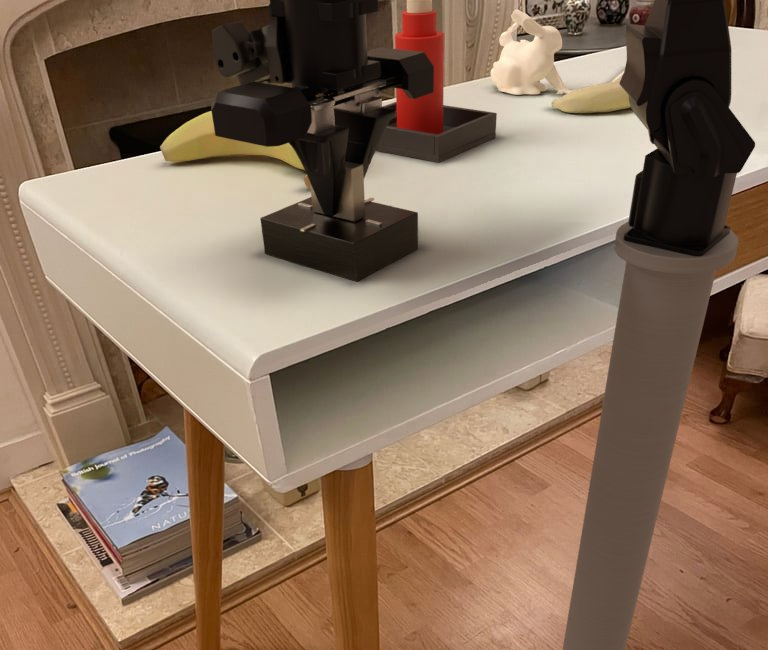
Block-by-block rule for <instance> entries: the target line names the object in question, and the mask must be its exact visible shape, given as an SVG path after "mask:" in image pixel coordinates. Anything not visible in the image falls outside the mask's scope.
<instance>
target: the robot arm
mask: <svg viewBox="0 0 768 650" xmlns="http://www.w3.org/2000/svg"><path fill="white" fill-rule="evenodd" d="M377 12H379V0H269V4H268V6H267V14H268V15H267V16H268V24H267V25H265V26H263V27H261V28H258V29H253V30H250V31H249V29H247V27H246V25H244V23H243V22H242V21H240V20H239V21H234V22H229V23H223V24H221V25H219V26H217V27H215V28H214V29H212V30H211V33H212V51H213V58H214V61H215V63H216V67H217V69H218V72H219V74H220V76H222V77H223V78H224V79H226V80H228V79H231V78H236V77H237V80H238V85H236V86H233V87H229V88H225V89H222V90H218V91H217V93H216V95H215V97H214V99H213V100H212V103H211V104H210V105H211V109H210V111H212V117H213V124H214V130H215V136H218V137H223V138H227V139H232V140H237V141H242V142H247V143H251V144H256V145H261V146H266V147H272V146H281V145H284V144H287V143H289V144H290V145H291V146H292V147H293V149H294V150H295V152H296V154H297V156H298V158H299V159H300V161H301V163H302V165H303V167H304V169H305V170H304V171H305V175H306V174H307V176H308V179H309V181H310V183H311V186H312V188H313V190H314V192H315V195H316V197H317V199H318V202H319V204H320V206H321V209H322V211H323V213H324V214H326V215H329V216H334V215H336V214H337V209H338V205H339V200H340V194H341V186H342V178H343V170H344V163H345V161H347V162H352V163H357V164H362V165H363V176H364V179H365V177H366V175H367V172H368V170H369V167H370V165H371V163H372V161H373V158H374V155H375V153H376V149H377V147H378V145H379V143H380V141H381V138H382V136H383V134H384V132H385V130H386V128H387V126H388V124H389V121H390V120H391V119H392V118H395V116H396V109H392V108H386V107H382V106H383V97H382V96H380V92H382V91H385V90H388V89H392V88H393V89H396V88H399V89H402V90H403V91H404V92H405V94H406V95H407V97H408V98H410V99H416V98H419V97H422V96H425V95H428V94H431V93H434V66H433V64H432V63H431V61H430V60H429V58H428V57H427V55H426V54H425V52H418V51H409V50H400V49H395V48H392V47H391V48H390V47H377V48H373V49H370V50H368V35H367V33H368V32H367V15H369V14H372V13H377ZM728 21H729V20H728V14H727V6H726V0H654V1H653V4H652V6H651V9H650V11H649V13H648V17H647V19H646V21H645V24H644V25H643V24H642V25H641V24H632V23H628V24H626V26H625V48H626V61H625V67H624V70H625V71H624V70H623V71H624V73H623V76H622V78H621V80H620V85H621V87H622V88H623V89H624V90H625V91H626V93H627V94H628V95H629V103H630V106H631V107H630V109H631V110H632V113H633V114H634V115H635V116H636V117H637V119H638V120H639V121H640V122H641V123H642V125H643V126H644V127H645V129H646V130H647V132H648V138H649V142H650V143H651V144H652V145H654V146H655V147H656V149H654V150H652V151H650V152H649V153H647V154H645V156H644V160H643V161H644V162H643V168H642V170H641V171H640V172H638V173H637V174H636V175H635V178H634V184H633V189H632V190H633V191H632V197H631V203H630V208H629V216H628V221H627V222H628V224H629V226H630V227H633V228H632V229H630V230H629V231H627V232H626V233H625V234H624V238H623V240H624V241H627V242H632V243H636V244H641V245H646V246H650V247H655V248H659V249H664V250H668V251H673V252H677V253H682V254H686V255H691V256H696V257H700V256H703V255H704V254H705V253H707V252H708V251H709V250H710V249H711V248H713V247H714V246H715V245H716V244H717V243H718V242H720V241H721V240H722V239H723V238H724V237H726V236H727V235H728V234H729V233H730V230H731V228H732V227H731V226H730V225H727V224H726V221H727V217H728V213H729V208H730V205H731V199H732V196H733V192H734V188H735V185H736V183H735V182H736V179H737V174H739V173H741V171H742V169H743V168H744V166H745V164H746V163H747V161H748V160H749V158H750V156H751V155H752V153H753V151H754V150H755V147H756V141H755V140H754V138H753V137H752V136H751V135H750V133H749V132H748V131H747V130H746V128H745V127H744V126H743V124H742V123H741V122H740V120H739V119H738V118H737V116H736V115H735V114H734V113H733V111H732V109H730V106H731V102H732V43H731V36H730V28H729V22H728ZM278 84H279V85H278ZM282 84H291V87H290V86H285V85H282Z"/></svg>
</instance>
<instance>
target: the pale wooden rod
mask: <svg viewBox="0 0 768 650" xmlns="http://www.w3.org/2000/svg"><path fill="white" fill-rule="evenodd" d="M624 71H625V69H624V70H622V72H621V73H619V74H618V75H617V76H615V78H614V79H612V80H611V81H610V82H615V81H620V80H621V78H622V76H623V73H624Z"/></svg>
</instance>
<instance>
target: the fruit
mask: <svg viewBox="0 0 768 650" xmlns="http://www.w3.org/2000/svg"><path fill="white" fill-rule="evenodd" d="M550 106H551V107H552V108H555V109H558V110H560V111H561V112H564V113H571V114H596V113H611V112H614V111H620V110H625V109H631V106H630V103H629V95H628V94H627V93H626V91H625V90H624V89H623V88H622V87H621V85H620V81H615V82H611V81H609V82H605V83H599V84H595V85H594V84H593V85H590V86H585V87H581V88H578V89H575V90H573V91H572V92H570V93H568V94H565V95H563V96H562V97H560V98H554V99H553V100H552V101H551V105H550Z"/></svg>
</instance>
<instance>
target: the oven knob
mask: <svg viewBox="0 0 768 650" xmlns="http://www.w3.org/2000/svg"><path fill="white" fill-rule="evenodd" d="M364 180H365V178H364V176H363V165H362V164H357V163H352V162H347V161H345V163H344V170H343V178H342V186H341V194H340V200H339V205H338V209H337V214H336V215H334V216H333V217H337V218H341V219H345V220H349V221H353V222H355V221H358V220H360V219H362V218H364V217H365V200H366V199H365V181H364ZM310 187H311V189H310V197H311V198H312V209H313V212H317V213H321V214H324V213H323V211H322V209H321V206H320V204H319V202H318V199H317V197H316V195H315V192H314V190H313V188H312V186H311V183H310ZM325 215H326V214H325Z"/></svg>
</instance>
